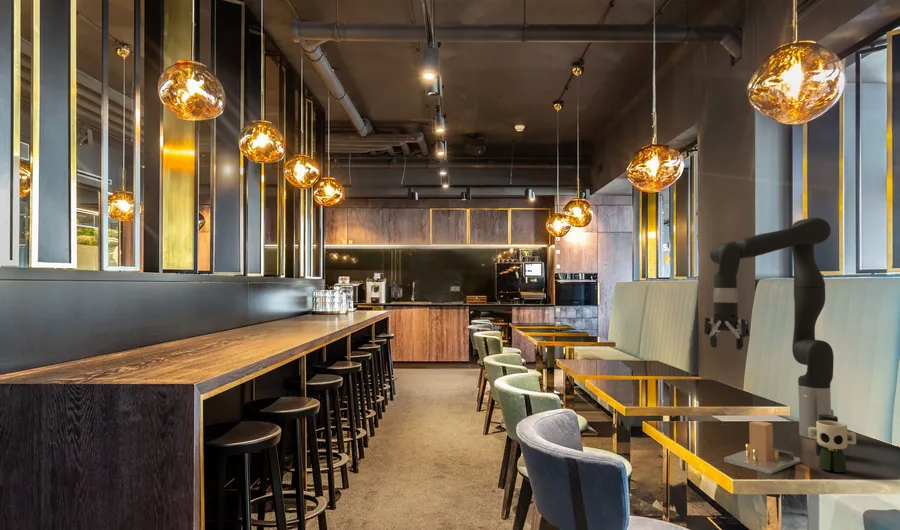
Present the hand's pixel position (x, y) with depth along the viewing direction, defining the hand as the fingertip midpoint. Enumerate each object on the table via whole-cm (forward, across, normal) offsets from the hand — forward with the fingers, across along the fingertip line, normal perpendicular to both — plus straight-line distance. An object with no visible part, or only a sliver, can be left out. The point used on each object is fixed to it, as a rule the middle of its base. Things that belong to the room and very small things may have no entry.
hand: (726, 348), depth 188 cm
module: (+29, -20, +19) cm, 40 cm away
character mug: (+30, -35, +11) cm, 47 cm away
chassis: (+30, -20, +19) cm, 41 cm away
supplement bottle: (+30, -28, -4) cm, 42 cm away
